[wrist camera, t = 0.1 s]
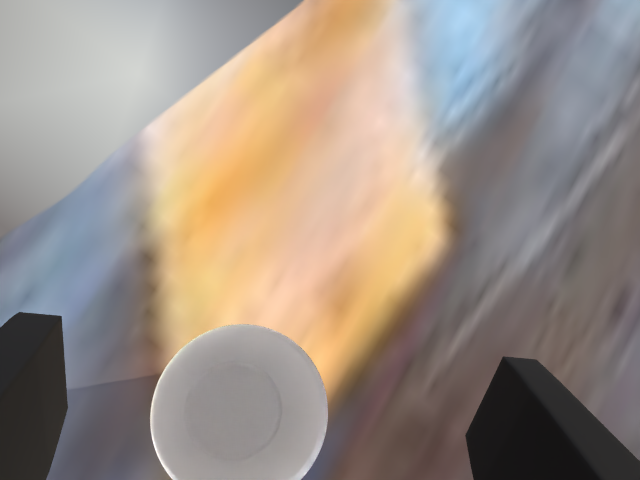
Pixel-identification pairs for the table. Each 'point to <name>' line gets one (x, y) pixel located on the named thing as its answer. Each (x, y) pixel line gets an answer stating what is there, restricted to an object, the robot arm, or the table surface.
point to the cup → (239, 408)
